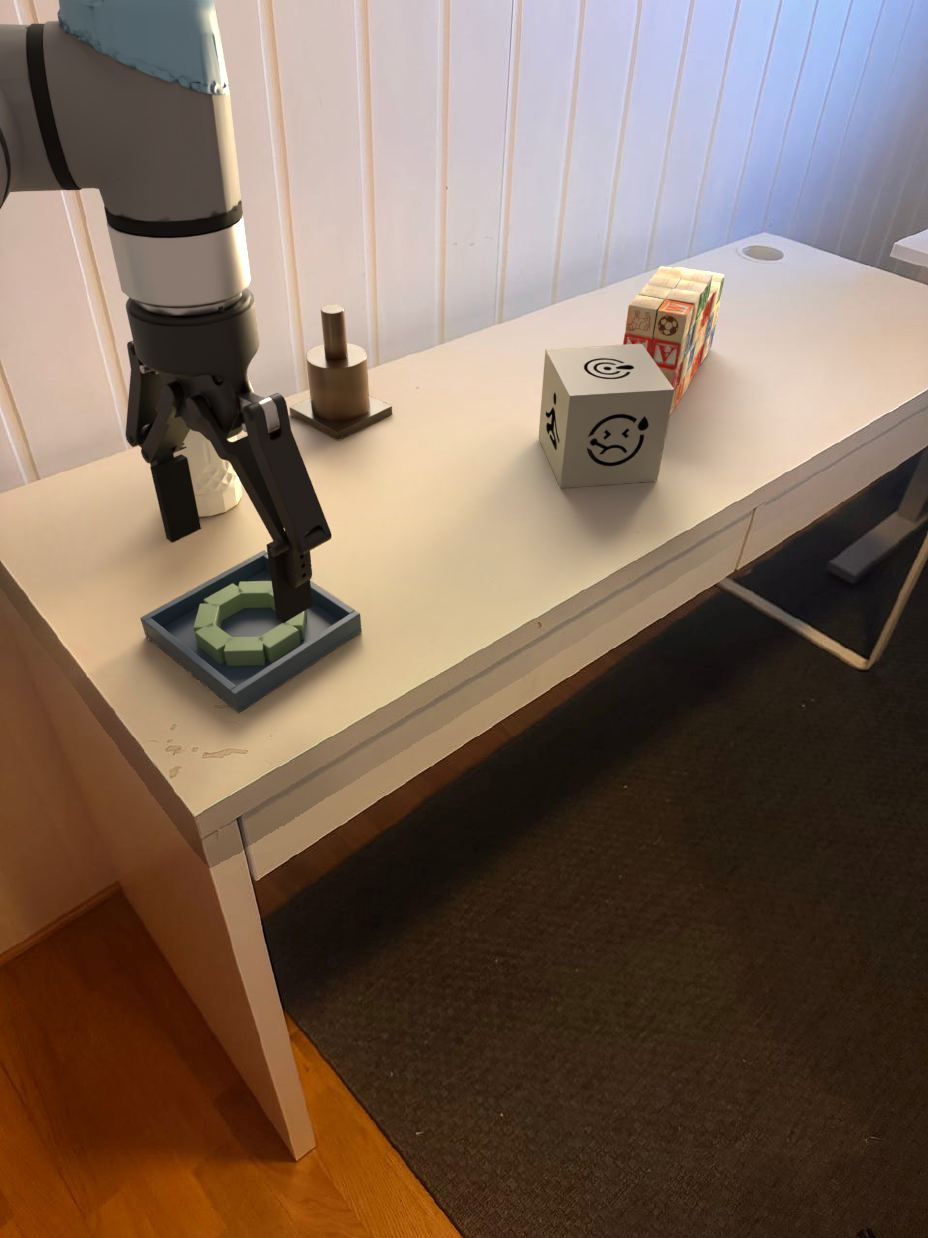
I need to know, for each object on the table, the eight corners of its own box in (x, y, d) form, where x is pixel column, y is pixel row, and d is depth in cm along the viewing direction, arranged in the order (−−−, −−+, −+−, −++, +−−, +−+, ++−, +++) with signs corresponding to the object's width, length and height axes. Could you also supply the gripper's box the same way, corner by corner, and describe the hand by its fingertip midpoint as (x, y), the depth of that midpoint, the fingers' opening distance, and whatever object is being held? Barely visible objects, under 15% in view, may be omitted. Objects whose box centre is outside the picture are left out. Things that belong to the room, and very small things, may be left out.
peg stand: (290, 415, 99) (276, 308, 91) (344, 390, 103) (335, 287, 95) (338, 440, 95) (328, 331, 87) (392, 414, 99) (388, 308, 91)
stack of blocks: (663, 338, 115) (680, 239, 107) (712, 347, 113) (732, 248, 105) (613, 410, 101) (628, 302, 93) (667, 422, 99) (687, 313, 91)
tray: (145, 636, 71) (139, 617, 70) (267, 568, 78) (263, 549, 77) (239, 713, 65) (234, 694, 64) (362, 632, 72) (360, 613, 71)
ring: (177, 630, 71) (173, 615, 70) (262, 582, 76) (259, 567, 75) (242, 682, 67) (239, 667, 66) (327, 627, 72) (325, 612, 71)
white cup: (162, 482, 88) (139, 389, 82) (243, 470, 90) (227, 378, 83) (167, 527, 83) (143, 431, 76) (253, 513, 84) (237, 418, 78)
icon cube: (628, 431, 97) (641, 343, 91) (657, 480, 90) (674, 389, 83) (538, 437, 96) (545, 348, 89) (560, 488, 88) (569, 395, 82)
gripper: (378, 336, 49) (387, 624, 63) (129, 226, 62) (182, 487, 76) (270, 379, 45) (305, 677, 59) (25, 252, 57) (102, 523, 71)
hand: (236, 571), depth 67 cm, fingers open, 13 cm apart
